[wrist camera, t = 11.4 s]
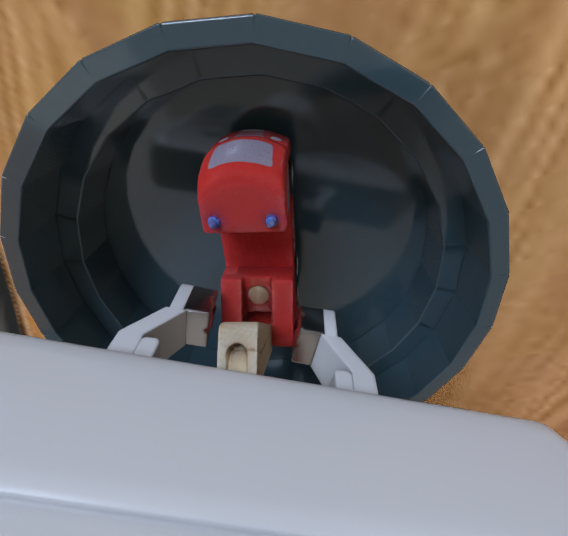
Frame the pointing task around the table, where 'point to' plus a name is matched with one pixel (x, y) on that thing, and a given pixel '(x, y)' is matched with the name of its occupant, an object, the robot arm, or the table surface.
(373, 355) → the bowl
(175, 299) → the robot arm
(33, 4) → the table surface
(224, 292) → the toy fire truck
